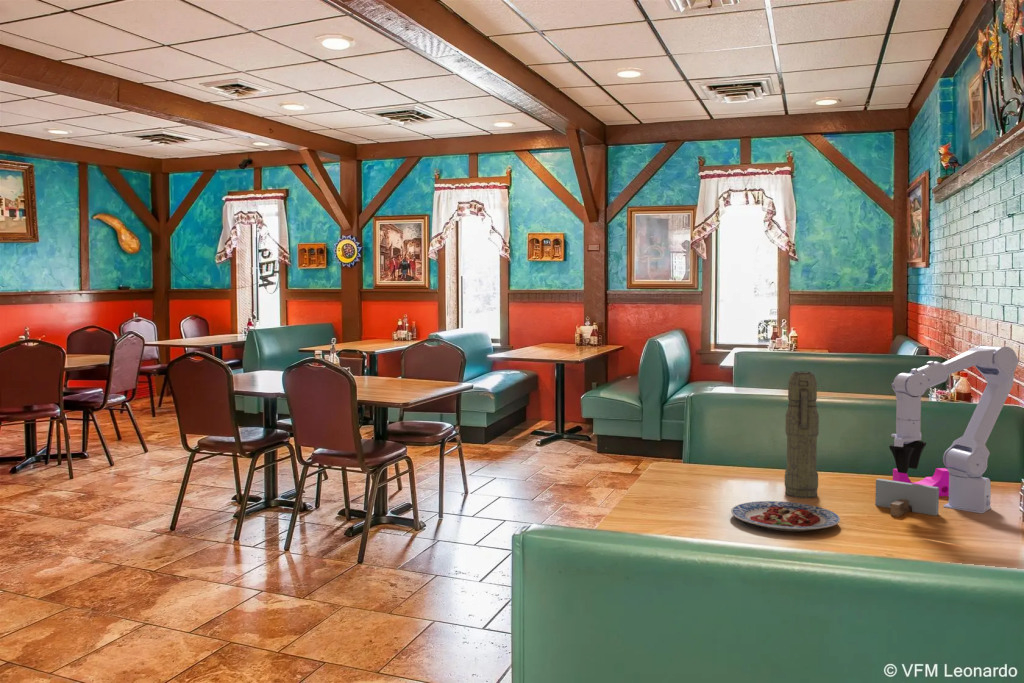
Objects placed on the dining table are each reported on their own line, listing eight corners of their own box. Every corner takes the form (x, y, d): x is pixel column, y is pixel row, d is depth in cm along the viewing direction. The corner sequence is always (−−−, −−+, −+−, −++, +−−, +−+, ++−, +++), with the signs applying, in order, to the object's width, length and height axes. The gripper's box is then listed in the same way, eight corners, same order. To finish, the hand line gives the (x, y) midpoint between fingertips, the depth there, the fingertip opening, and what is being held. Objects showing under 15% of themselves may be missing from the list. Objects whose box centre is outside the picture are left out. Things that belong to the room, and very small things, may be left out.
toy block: (939, 492, 231) (940, 466, 231) (952, 497, 225) (952, 470, 224) (888, 492, 231) (888, 466, 230) (899, 497, 224) (899, 471, 224)
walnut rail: (913, 503, 217) (913, 492, 217) (921, 504, 216) (921, 493, 216) (890, 515, 205) (890, 503, 205) (898, 516, 204) (898, 505, 204)
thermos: (789, 500, 222) (791, 374, 220) (780, 490, 233) (781, 370, 232) (823, 500, 221) (824, 374, 219) (812, 490, 232) (813, 370, 231)
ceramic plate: (755, 504, 218) (755, 493, 218) (853, 520, 202) (853, 508, 202) (713, 524, 198) (713, 512, 198) (819, 544, 182) (819, 531, 182)
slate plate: (938, 514, 206) (938, 487, 206) (935, 515, 205) (936, 488, 204) (878, 504, 217) (878, 478, 216) (875, 505, 215) (875, 479, 215)
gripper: (902, 414, 218) (901, 464, 218) (882, 420, 207) (881, 472, 208) (930, 417, 213) (929, 467, 213) (911, 423, 202) (910, 476, 203)
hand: (907, 470), depth 210 cm, fingers open, 7 cm apart
